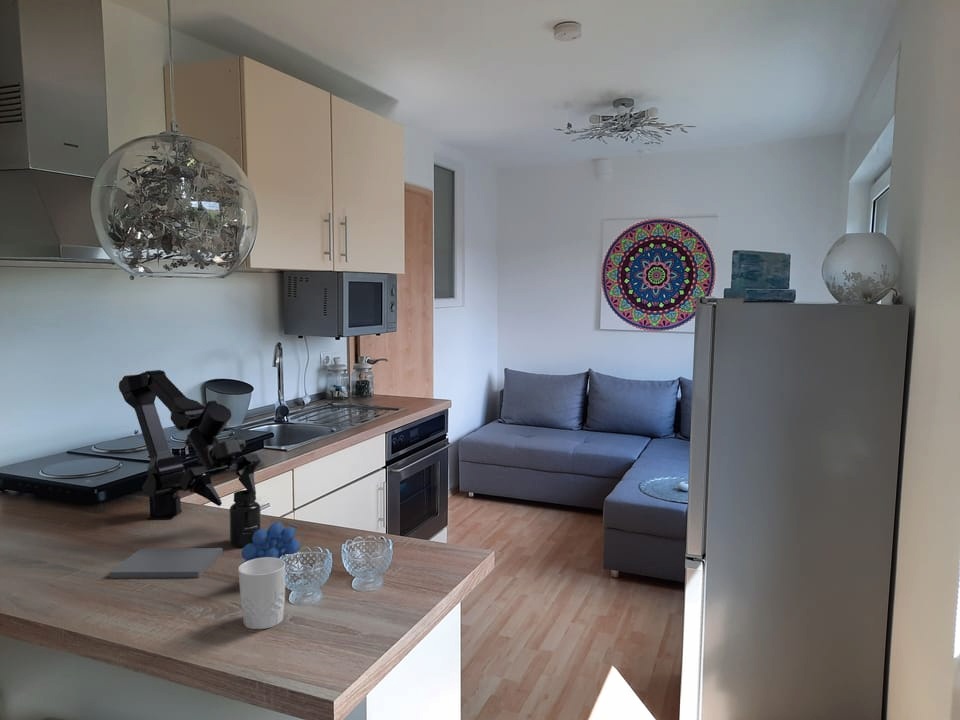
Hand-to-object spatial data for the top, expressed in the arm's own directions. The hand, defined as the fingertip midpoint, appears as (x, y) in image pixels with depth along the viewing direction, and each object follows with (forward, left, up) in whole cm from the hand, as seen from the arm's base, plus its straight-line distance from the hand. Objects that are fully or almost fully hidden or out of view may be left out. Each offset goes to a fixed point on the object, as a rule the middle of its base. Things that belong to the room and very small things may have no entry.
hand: (237, 499), depth 155 cm
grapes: (+14, -22, -10) cm, 28 cm away
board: (-10, -14, -10) cm, 20 cm away
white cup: (+18, -39, -10) cm, 44 cm away
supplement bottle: (+2, -1, -10) cm, 10 cm away
